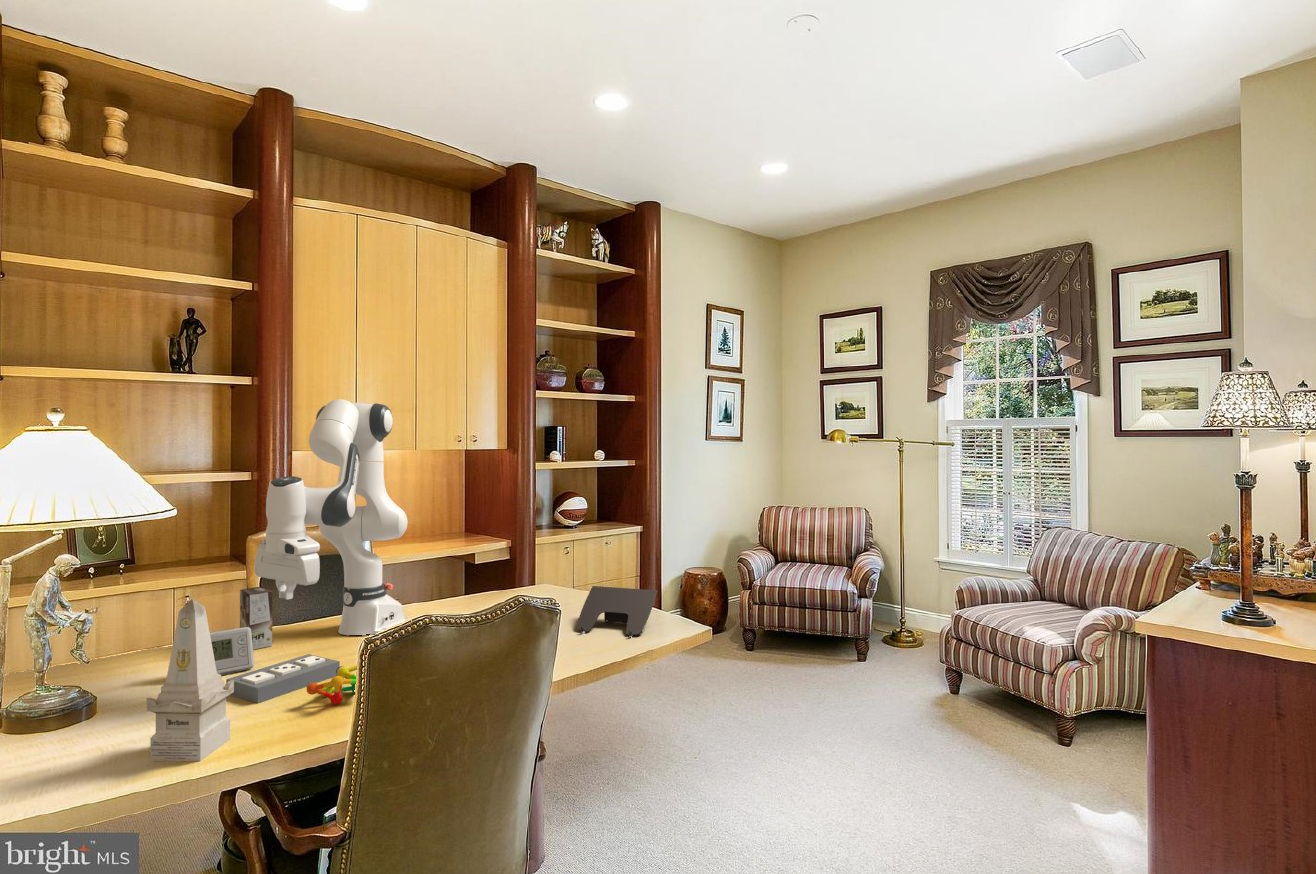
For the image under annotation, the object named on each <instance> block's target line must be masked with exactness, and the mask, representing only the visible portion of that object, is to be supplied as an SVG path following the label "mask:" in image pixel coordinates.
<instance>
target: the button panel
mask: <svg viewBox="0 0 1316 874" xmlns="http://www.w3.org/2000/svg"><path fill="white" fill-rule="evenodd" d="M310 656H316V657H320V658H324V659H325V662H322V663H319V664H316V665H313V666H310V667H305V666H301V665H297V664H295V661H297V660H301V659H304V658H307V657H310ZM284 664H292V665H296V666H300V667H301V669H300V670H297V671H294V672H291V673H288V674H285V675H278V674H275V673H271V672H269V669H272V668H275V667H278V666H281V665H284ZM340 664H341V663H340V661H339V660H335V659H331V658H328V657H322V656H319V655H315V654H310V653H307V654H304V655H301V656H297V657H295V658H291V659H288V660H285V661H281V662H278V663H276V664H275V663H274V664H272V665H268V666H266V667H262V668H258V669H256V670H253V671H252V670H251V671H248V672H245V673H243V674H239V675H237V676H232V677H229V678H226V680H225V681H226V683H227V682H228V681H230V680H234V692H233V693H231V694H230V695H229V696H233V697H235V698H238V699H241V700H246V701H249V702H252V703H255V704H261V703H263V702H265V701H268V700H272V699H275V698H277V697H281V696H282V695H286V694H289V693H291V692H295V691H298V690H302V689H304V688H307V686H308V685H309V684H310V683H317V682H318V683H320V682H323V681H326V680H329V679H332V678H333V677H335V676H336V675H337V674H336V670H337V668H339V667H340V666H341V665H340ZM259 672H265V673H269V674H272V675H275V678H273V679H269V680H266V681H263V682H260V683H257V684H251V683H247V682H244V681H242V678H243V677H246V676H249V675H252V674H255V673H259ZM226 683H225V684H226ZM318 683H317V684H318Z"/></svg>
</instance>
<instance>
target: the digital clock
mask: <svg viewBox="0 0 1316 874" xmlns="http://www.w3.org/2000/svg"><path fill="white" fill-rule="evenodd" d="M210 637H211V642H212V648H213V654H214V659H215V665H216V670H217V673H218V674H220V675H221V677H222V676H226V674H227V675H231V673H233V674H236V673H235V672H238V673H239V672H242V671H247V670H251V669H253V668H254V666H255V664H254V663H255V662H254V661H255V659H254V650H253V646H252V634H251V629H250V628H249V627H244V628H240V627H237V628H229V629H221V630H216V631H210Z"/></svg>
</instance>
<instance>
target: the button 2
mask: <svg viewBox="0 0 1316 874" xmlns="http://www.w3.org/2000/svg"><path fill="white" fill-rule="evenodd" d="M300 669H301V667H300V666H296V665H292V664H284V665H281V666H278V667H275V668H272V669H269V672H271V673H275V674H278V675H285V674H288V673H291V672H294V671H297V670H300Z"/></svg>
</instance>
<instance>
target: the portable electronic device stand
mask: <svg viewBox="0 0 1316 874" xmlns="http://www.w3.org/2000/svg"><path fill="white" fill-rule="evenodd" d="M657 593H658V590H656V589H646V588H645V589H641V588H629V587H628V588H627V587H613V586H612V587H611V586H598V585H593V586H591V589H590V591H589V592H588V595H587V596H586V599H585V601H584V604H583V606H582V609H581V611H580V615H579V616H578V621H577V623H576V628H577V630H578V631H581V634H582V635H584V634H585V633H586V632H590V631H591V630H592V628H593V626H594V625H595V624H596V622H597V620H598V619H599V617H600V616H601V614H603V613H604V615H603V616H604V618H603V619H604V623H606V624H613V623H622V624H626V623H627V624H626V628H625V634H626V635H627V636H628V637H629V638H630V637H632V636H633V635H634V636H636V635H638V636H639V635H641V634H642V633H643V630H644V628H645V626H646V624H647V621H648V619H649V617H650V615H651V611H652V609H653V607H654V604H655V600H656V597H657ZM634 636H633V637H634ZM633 637H632V638H633Z"/></svg>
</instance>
